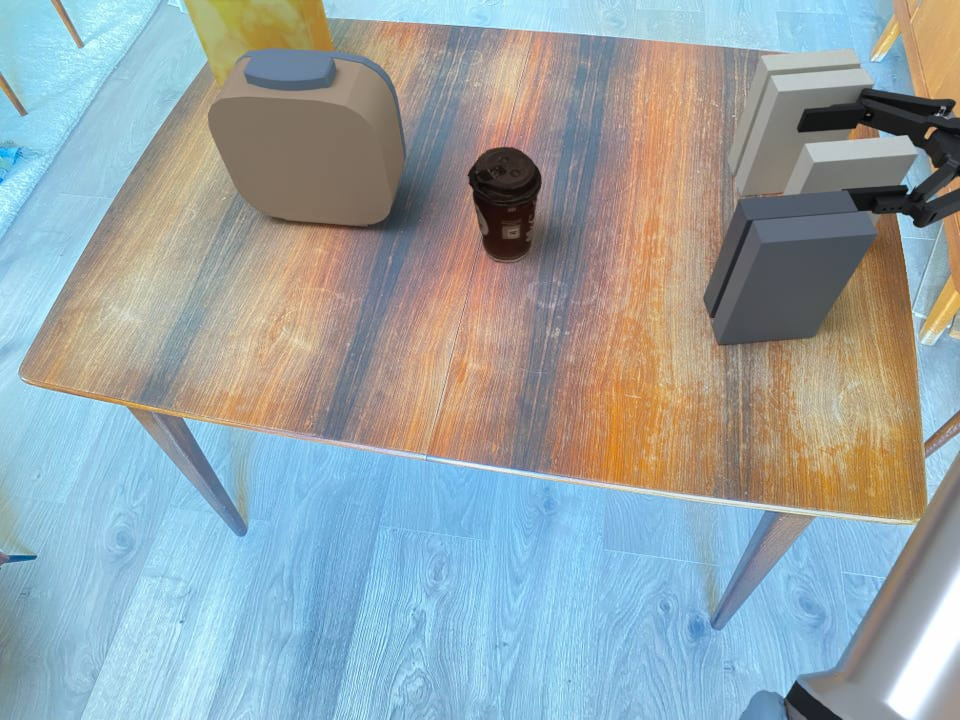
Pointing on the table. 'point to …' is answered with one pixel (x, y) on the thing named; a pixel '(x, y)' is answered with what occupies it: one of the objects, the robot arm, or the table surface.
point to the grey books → (785, 265)
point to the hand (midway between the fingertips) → (818, 159)
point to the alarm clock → (311, 135)
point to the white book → (852, 165)
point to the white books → (790, 113)
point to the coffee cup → (505, 201)
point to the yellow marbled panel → (256, 28)
